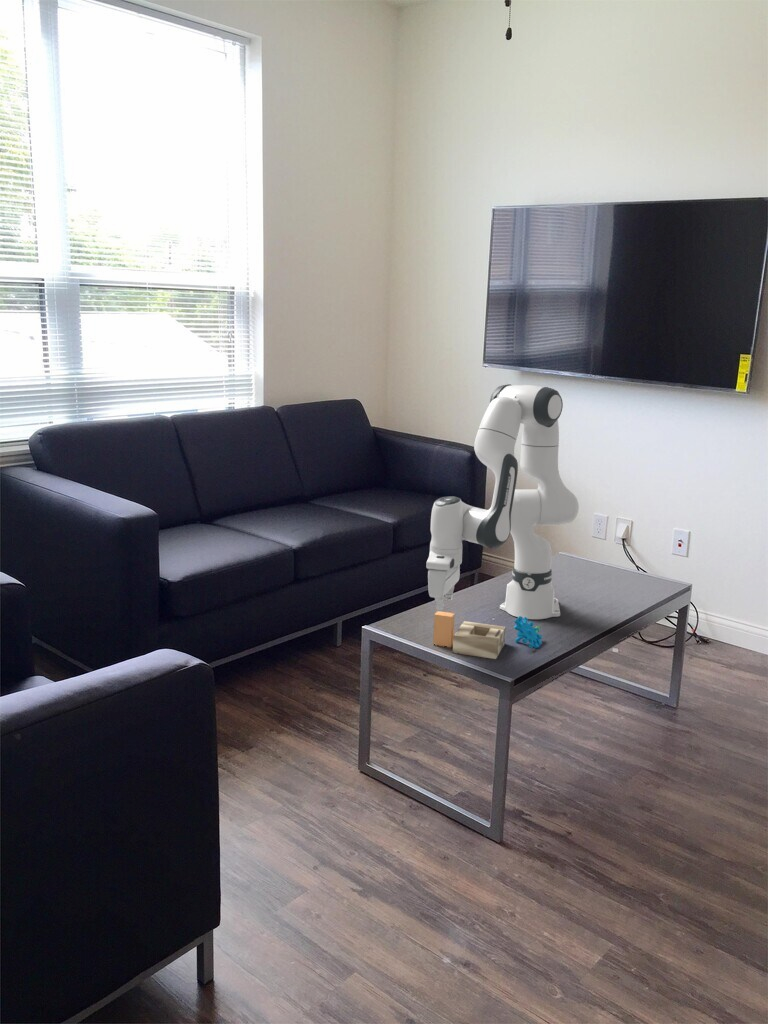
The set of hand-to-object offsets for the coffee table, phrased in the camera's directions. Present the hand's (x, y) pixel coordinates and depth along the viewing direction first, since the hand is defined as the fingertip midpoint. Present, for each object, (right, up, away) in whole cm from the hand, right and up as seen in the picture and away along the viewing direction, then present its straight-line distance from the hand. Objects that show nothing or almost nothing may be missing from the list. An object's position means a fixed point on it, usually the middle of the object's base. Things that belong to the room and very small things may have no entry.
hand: (444, 604), depth 239 cm
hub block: (+10, -12, +1) cm, 16 cm away
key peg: (0, -11, +3) cm, 12 cm away
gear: (+24, -12, +5) cm, 27 cm away
